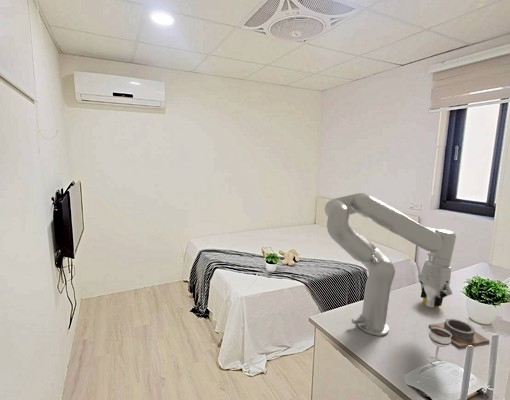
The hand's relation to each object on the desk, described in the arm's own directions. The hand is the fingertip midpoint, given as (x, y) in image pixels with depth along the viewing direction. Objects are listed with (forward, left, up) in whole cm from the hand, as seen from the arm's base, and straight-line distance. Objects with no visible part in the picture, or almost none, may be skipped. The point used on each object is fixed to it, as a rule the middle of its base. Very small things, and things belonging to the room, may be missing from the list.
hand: (430, 301), depth 120 cm
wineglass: (-11, -15, -14) cm, 24 cm away
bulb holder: (+13, -4, -14) cm, 19 cm away
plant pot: (+23, +19, -14) cm, 33 cm away
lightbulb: (0, 0, -3) cm, 3 cm away
